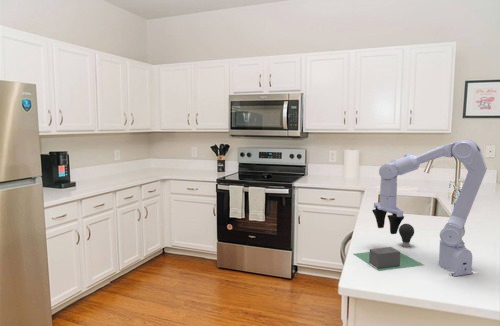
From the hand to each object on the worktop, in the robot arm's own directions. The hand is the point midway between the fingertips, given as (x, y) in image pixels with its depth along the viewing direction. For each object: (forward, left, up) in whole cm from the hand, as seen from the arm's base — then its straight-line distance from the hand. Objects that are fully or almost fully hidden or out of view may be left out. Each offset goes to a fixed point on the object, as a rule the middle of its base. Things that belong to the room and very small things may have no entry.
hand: (386, 230), depth 130 cm
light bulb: (+4, -12, -10) cm, 16 cm away
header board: (-6, +4, -9) cm, 12 cm away
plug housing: (-10, +8, -8) cm, 15 cm away
